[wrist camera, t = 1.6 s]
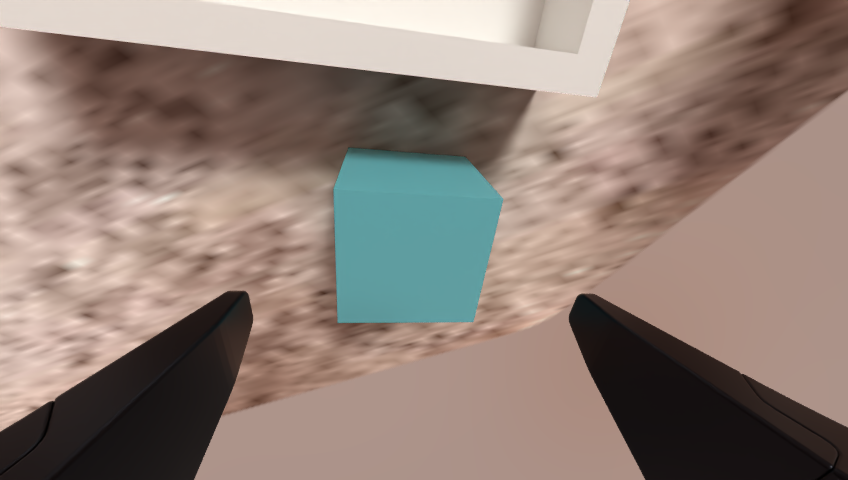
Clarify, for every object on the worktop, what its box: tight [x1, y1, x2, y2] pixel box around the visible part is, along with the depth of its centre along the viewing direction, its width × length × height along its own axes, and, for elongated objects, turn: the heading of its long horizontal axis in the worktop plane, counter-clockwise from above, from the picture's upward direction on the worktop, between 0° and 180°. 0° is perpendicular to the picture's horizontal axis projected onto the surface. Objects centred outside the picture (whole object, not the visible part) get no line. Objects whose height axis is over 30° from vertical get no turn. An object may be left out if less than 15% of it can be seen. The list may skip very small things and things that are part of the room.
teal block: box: [333, 148, 503, 323], centre depth 13 cm, size 5×5×5 cm
